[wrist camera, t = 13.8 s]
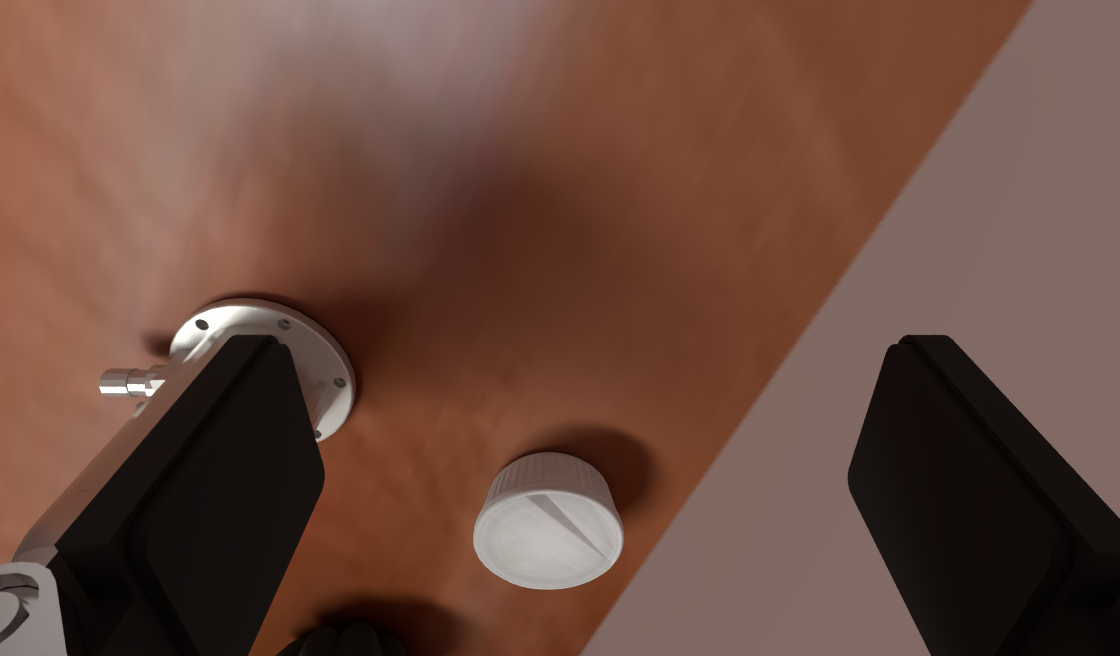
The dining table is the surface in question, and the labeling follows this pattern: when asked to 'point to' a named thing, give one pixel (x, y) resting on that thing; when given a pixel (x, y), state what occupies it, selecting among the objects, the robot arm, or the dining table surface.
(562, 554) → the ramekin
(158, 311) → the dining table surface
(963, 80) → the dining table surface
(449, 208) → the dining table surface
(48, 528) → the robot arm
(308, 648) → the squash
